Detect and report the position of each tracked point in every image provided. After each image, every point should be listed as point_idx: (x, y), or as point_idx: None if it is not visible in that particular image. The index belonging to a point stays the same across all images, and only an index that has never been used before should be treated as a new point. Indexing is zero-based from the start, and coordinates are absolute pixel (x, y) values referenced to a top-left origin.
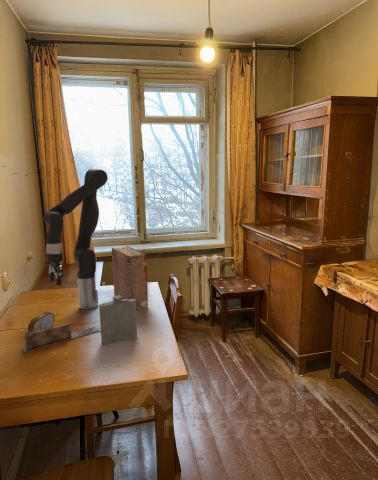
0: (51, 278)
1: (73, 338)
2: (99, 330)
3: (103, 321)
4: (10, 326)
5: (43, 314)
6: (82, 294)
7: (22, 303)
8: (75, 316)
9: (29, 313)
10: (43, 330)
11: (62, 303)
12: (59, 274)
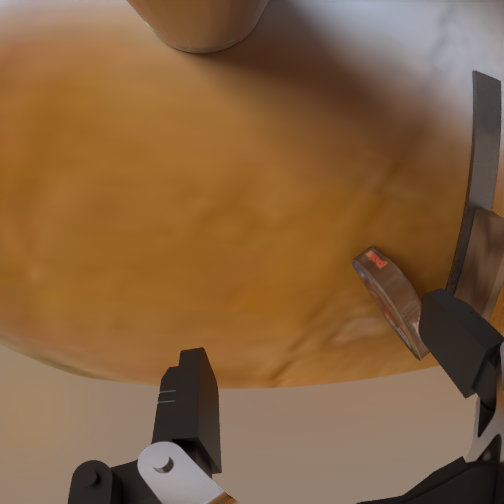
0: (213, 409)
1: (490, 203)
2: (500, 107)
3: None
4: (249, 376)
5: (414, 322)
6: (253, 7)
7: (17, 318)
8: (318, 113)
9: (138, 314)
10: (488, 314)
11: (64, 144)
12: (497, 400)
